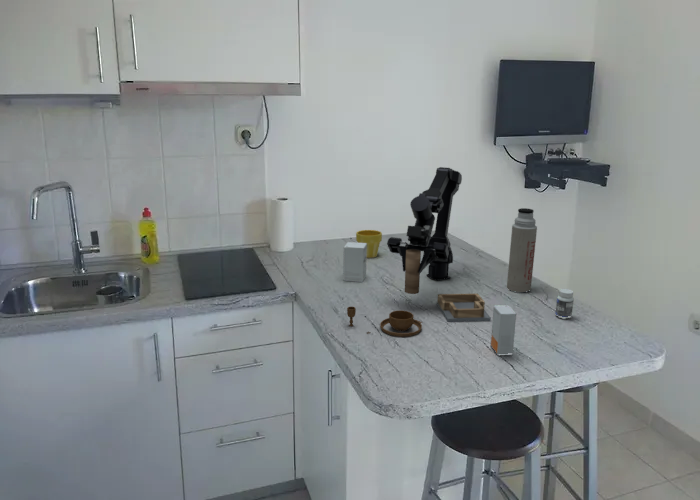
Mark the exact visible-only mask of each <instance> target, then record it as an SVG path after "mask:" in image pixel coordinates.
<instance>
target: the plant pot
mask: <svg viewBox="0 0 700 500" xmlns="http://www.w3.org/2000/svg"><path fill="white" fill-rule="evenodd" d="M355 239H356V240H355V241H356V243H367V259H374V258H376V257H377V256H378V252H379V248H380V244H381V242H382V239H383V233H382V231H379V230H375V229H362V230H358V231H356V232H355Z"/></svg>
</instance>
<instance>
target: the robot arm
mask: <svg viewBox="0 0 700 500" xmlns="http://www.w3.org/2000/svg"><path fill="white" fill-rule="evenodd" d="M462 180H463V178H462V173H461V172H459V171H458V170H454V169H453V168H451V167H445V166H444V167H442V166H440V167H437V168H436V171H435V175H434V177H433V180H432V182H431V184H430V185H429V188H428V189H425V190H424V191H422V193H419V194H418V195H417V196H415V197H414V198H413V199H412V200H411V201H410V208H411V212H412V213H413V214H412V215H413V217H414V219H415V223H414V225H408V226H407V231H406V237H407V241H408V242H409V243H408V242H406V241H403V240H402V238H401V237H393V236H391V237H389V238H388V239H387V242H386V246H387V247H388V249H389V252H391V253H392V254H399V255H400V256H401V261H402V271H403V272H405V265H406V250H409V249H416V250H420V251H421V252H423V254H422V258H421V260H420V266H419V270H418V273H419V274H420V275H421V273H423V271H424V270H425V268H426V267H427V266H428V272H427V274H426V277H428V278H430V279H431V280H434V281H443V280H448V279H449V280H450V279H451V278H452V277H451V276H449V265H450V264H453V263H454V255H453V254H454V253H453V251H452V246H451V244H452V243H451V241H450V239H449V237H448V233H449V227H450V219H451V212H452V206H453V200H454V196H455V195H456V193H457V192H459V189H460V185H461V184H462ZM435 214H437V215H436V217H435ZM435 220H436V223H435ZM434 225H435V229H434V234H433V235H432V233H433V232H432V231H433V228H434Z"/></svg>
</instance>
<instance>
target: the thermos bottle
mask: <svg viewBox="0 0 700 500" xmlns="http://www.w3.org/2000/svg"><path fill="white" fill-rule="evenodd" d="M517 212H518V213H517V217H515V218H514V221H513V222H514V223H513V224H512V225H511V237H510V247H509V259H508V270H507V278H506V279H507V281H506V289H507V288H508V289H509V290H508V289H507V290H508V291H510V290H511V291H510V292H513V291H516V292H515V293H517V292H526V291H529V290H532V282H533V281H532V280H533V271H534V262H535V253H536V241H537V233H538V232H537V230H538V226H536V219H535V218H534V209H531V208H523V207H522V208H518V210H517ZM526 293H527V292H526Z"/></svg>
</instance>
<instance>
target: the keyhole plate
mask: <svg viewBox="0 0 700 500" xmlns="http://www.w3.org/2000/svg"><path fill="white" fill-rule="evenodd" d="M485 304H486V302H485V300H484V299H483V298H482V297H481V296H480V294H479V293H478V292H477V293H476V292H475V293H440V294H437V301H436V306H437V307H438V308H439V311H441V313H442V315H443V317H444V319H445V320H446V322H448V323H453V322H454V323H455V322H456V323H458V322H459V323H462V322H464V321H465V322H491V321H492V318H491V316H490V315H489V313H487V311H486V310H485V307H486V306H485ZM490 320H491V321H490Z"/></svg>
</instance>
